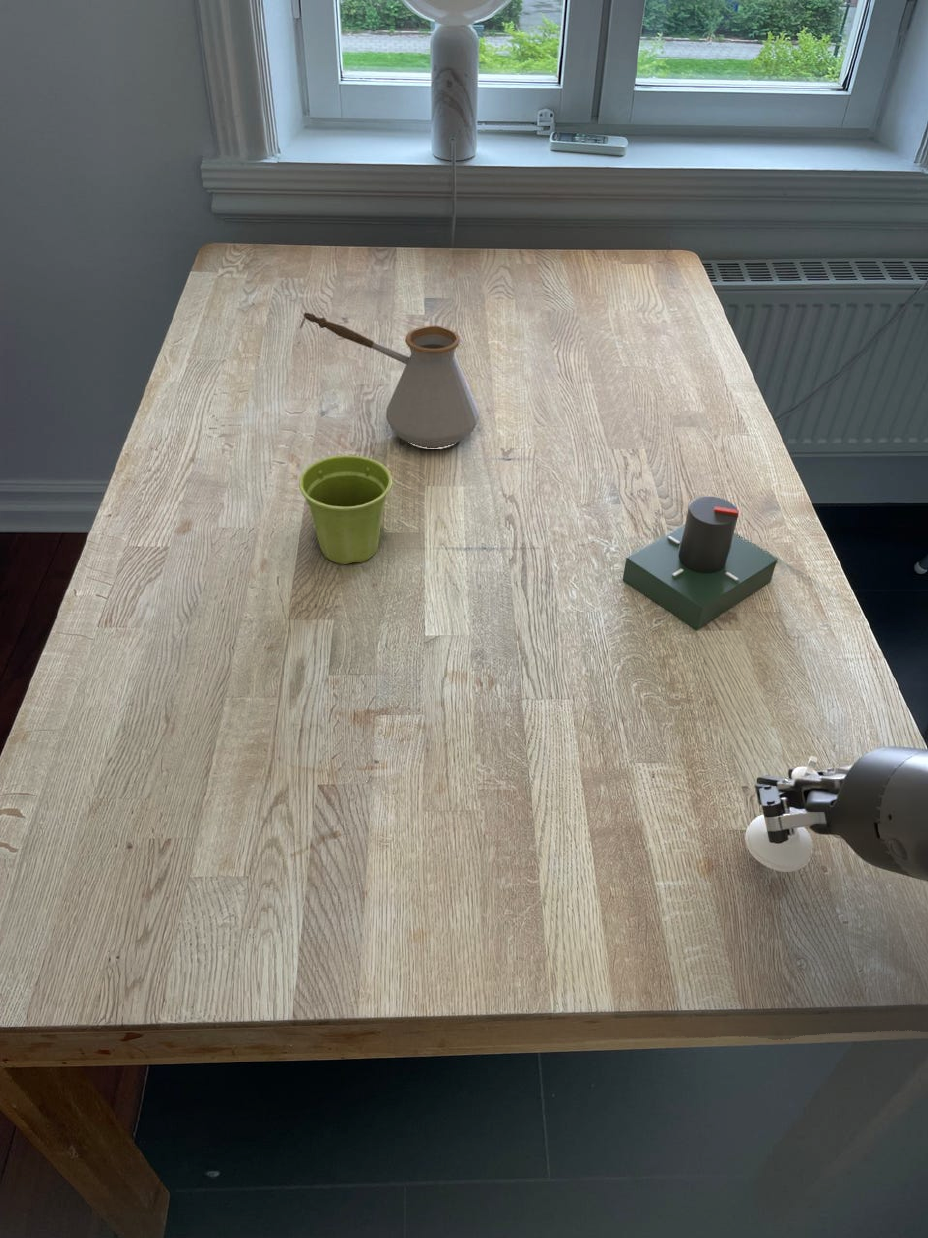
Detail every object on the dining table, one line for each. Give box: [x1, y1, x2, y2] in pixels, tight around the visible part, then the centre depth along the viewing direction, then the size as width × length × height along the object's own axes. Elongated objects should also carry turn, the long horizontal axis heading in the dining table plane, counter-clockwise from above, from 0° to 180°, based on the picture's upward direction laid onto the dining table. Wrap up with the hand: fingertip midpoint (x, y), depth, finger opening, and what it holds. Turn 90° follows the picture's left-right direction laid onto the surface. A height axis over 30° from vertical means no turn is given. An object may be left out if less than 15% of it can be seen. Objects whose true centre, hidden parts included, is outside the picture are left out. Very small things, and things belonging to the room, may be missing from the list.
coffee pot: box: [299, 311, 480, 448], centre depth 117 cm, size 21×12×15 cm, turn 85°
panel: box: [622, 523, 778, 631], centre depth 100 cm, size 12×10×3 cm
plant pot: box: [298, 454, 393, 565], centre depth 101 cm, size 9×9×9 cm
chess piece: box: [744, 755, 818, 873], centre depth 70 cm, size 5×5×10 cm
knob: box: [679, 496, 740, 573], centre depth 97 cm, size 5×5×6 cm
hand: (778, 786), depth 72 cm, fingers closed on chess piece
